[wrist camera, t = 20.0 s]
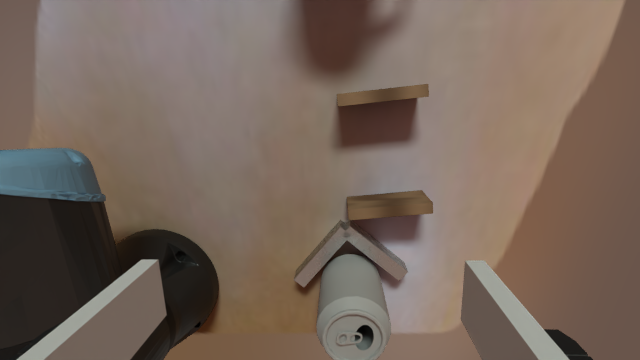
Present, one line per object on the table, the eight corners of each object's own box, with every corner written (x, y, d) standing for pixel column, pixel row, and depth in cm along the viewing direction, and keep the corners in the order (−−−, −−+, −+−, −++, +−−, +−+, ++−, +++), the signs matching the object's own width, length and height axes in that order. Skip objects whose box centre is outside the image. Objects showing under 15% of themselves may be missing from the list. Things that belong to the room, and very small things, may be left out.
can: (375, 306, 45) (387, 378, 34) (318, 299, 46) (311, 369, 34) (383, 254, 44) (399, 311, 32) (324, 247, 44) (318, 301, 32)
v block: (297, 277, 45) (294, 288, 43) (289, 223, 43) (287, 231, 41) (404, 270, 44) (408, 280, 41) (401, 214, 42) (405, 221, 40)
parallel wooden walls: (347, 206, 42) (348, 220, 37) (337, 94, 39) (336, 94, 34) (422, 199, 42) (433, 213, 37) (417, 85, 39) (428, 83, 34)
